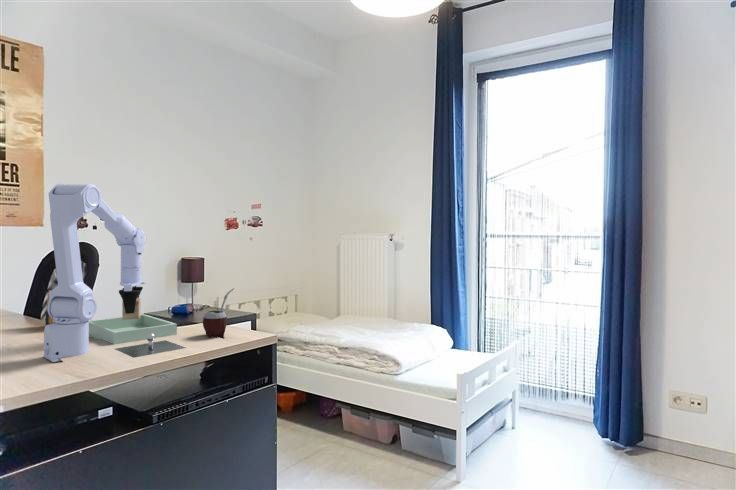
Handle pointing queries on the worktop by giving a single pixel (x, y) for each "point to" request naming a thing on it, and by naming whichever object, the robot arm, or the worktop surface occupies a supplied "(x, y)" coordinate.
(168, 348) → the base
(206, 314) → the mate gourd
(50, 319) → the ammunition clip
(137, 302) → the square capped bottle
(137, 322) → the bin
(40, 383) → the worktop surface
